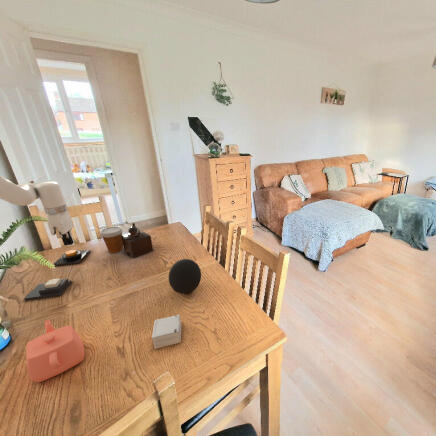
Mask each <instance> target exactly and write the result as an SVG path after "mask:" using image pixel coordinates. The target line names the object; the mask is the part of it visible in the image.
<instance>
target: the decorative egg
mask: <svg viewBox="0 0 436 436" xmlns="http://www.w3.org/2000/svg"><path fill="white" fill-rule="evenodd" d="M201 280H202V270H201V268H200V266H199V264H198V263H197V262H196V261H194V260H192V259H190V258H183V259H179V260H177V261H175V263H174V264H173V265H172V266H171V267H170V269H169V271H168V283H169V286H170V287H171V289H172V290H173V291H174V292H176V293H178V294H180V295H181V294H182V295H188V294H191V293H192V292H194V291H195V290H196V289H198V287H199V286H200V283H201Z"/></svg>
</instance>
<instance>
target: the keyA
mask: <svg viewBox="0 0 436 436" xmlns="http://www.w3.org/2000/svg"><path fill="white" fill-rule="evenodd" d="M61 279H62V278H53V279H48V281H46V282H45V283H46V284H45V285H44V286H45V288H52V287H57V286H58V285H59V284H60V283H61Z"/></svg>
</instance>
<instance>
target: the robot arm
mask: <svg viewBox="0 0 436 436" xmlns="http://www.w3.org/2000/svg"><path fill="white" fill-rule="evenodd" d="M37 199H39V200H40V203H41V205H42V208H43V210H44V213H45V216H46V222H47V227H48V229H49V233H50V235H51V236H55V235H56V238H57V239H61V240H62V243H63V245H64V246H72V245H73V244H74V243H75V242H74V240H73V239H74V238H73V237H72V236H73V235H72V230H73V228H74V222H73V219H72V217H71V214H70V212H69V209H68V205H67V204H66V203H67V202H66V201H65V197H64V194H63V192H62V189H61V186H60V184H59V183H58V182H56V181H45V182H22V183H18V184H16V183H14V182H12V181H10V180H9V179H7V178H5V177H3V176H2V175H1V174H0V200H3V201H4V202H7V203H9V204H12V205H15V206H19V207H25V206H26V207H27V206H30V205H32V204H33V203H34V202H35V201H36V200H37ZM47 219H48V220H49V221H47Z"/></svg>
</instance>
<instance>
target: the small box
mask: <svg viewBox="0 0 436 436" xmlns="http://www.w3.org/2000/svg"><path fill="white" fill-rule="evenodd" d="M152 328H153V329H152V335H151V340H152V344H153V349H154V350H157V349H160V348H165V347H169V346H172V345H176V344H179V343H181V341H182V321H181V315H180V314H176V315H172V316H167V317H162V318H157V319H154V323H153V327H152Z"/></svg>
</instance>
